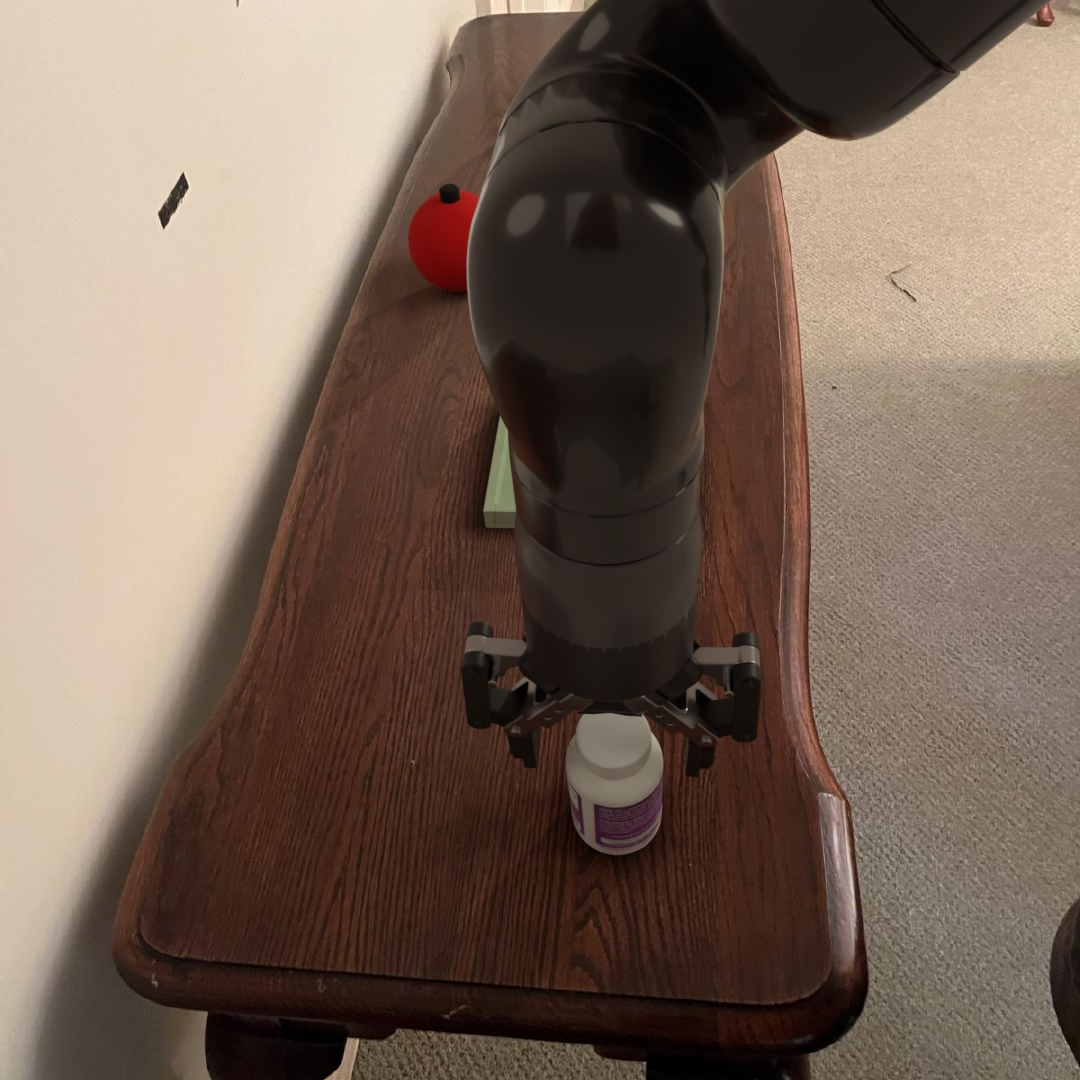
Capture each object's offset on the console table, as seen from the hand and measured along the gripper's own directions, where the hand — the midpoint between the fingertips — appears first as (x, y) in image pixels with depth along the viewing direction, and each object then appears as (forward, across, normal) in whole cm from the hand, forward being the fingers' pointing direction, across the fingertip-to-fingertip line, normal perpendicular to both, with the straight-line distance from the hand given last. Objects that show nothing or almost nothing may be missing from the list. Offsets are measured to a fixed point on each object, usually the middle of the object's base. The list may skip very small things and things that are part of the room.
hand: (612, 757), depth 54 cm
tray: (+7, -3, +29) cm, 30 cm away
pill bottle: (+8, 0, 0) cm, 8 cm away
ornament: (+8, -17, +53) cm, 56 cm away
